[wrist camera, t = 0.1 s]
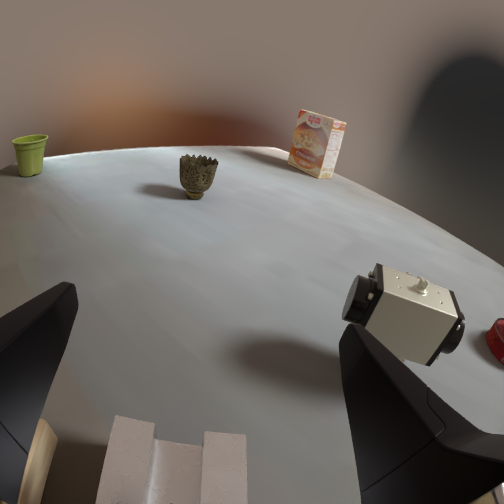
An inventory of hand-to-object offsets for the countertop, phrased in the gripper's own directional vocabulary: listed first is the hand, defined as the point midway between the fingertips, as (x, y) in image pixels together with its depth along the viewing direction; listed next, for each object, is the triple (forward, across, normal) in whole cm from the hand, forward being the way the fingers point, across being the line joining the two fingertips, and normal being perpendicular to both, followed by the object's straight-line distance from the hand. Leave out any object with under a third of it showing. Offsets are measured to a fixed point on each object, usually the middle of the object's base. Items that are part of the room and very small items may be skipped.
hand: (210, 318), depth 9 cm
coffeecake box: (+93, -27, +16) cm, 98 cm away
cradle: (-3, +1, +17) cm, 17 cm away
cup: (+52, +6, +16) cm, 55 cm away
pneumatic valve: (+13, -18, +17) cm, 28 cm away
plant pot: (+55, +48, +16) cm, 75 cm away
